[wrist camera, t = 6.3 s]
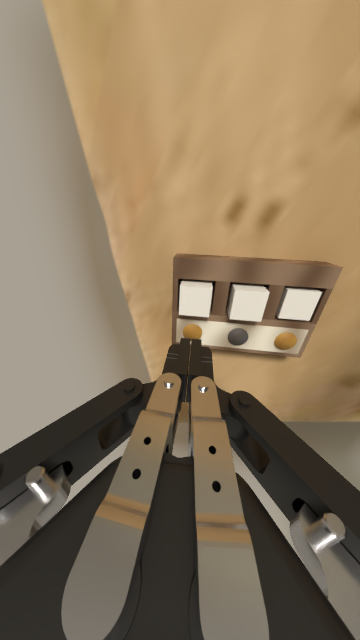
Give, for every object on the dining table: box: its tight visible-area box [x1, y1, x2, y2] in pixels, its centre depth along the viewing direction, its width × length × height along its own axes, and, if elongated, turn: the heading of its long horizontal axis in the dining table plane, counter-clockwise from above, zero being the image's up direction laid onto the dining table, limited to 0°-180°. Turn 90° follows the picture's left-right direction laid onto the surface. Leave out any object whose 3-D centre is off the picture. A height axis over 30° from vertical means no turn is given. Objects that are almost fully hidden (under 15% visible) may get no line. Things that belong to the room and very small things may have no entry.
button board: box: [172, 254, 343, 358], centre depth 23 cm, size 18×12×3 cm
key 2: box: [275, 286, 322, 321], centre depth 22 cm, size 4×4×2 cm
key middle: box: [227, 283, 270, 322], centre depth 21 cm, size 4×4×2 cm
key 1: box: [179, 280, 213, 317], centre depth 21 cm, size 4×4×2 cm
